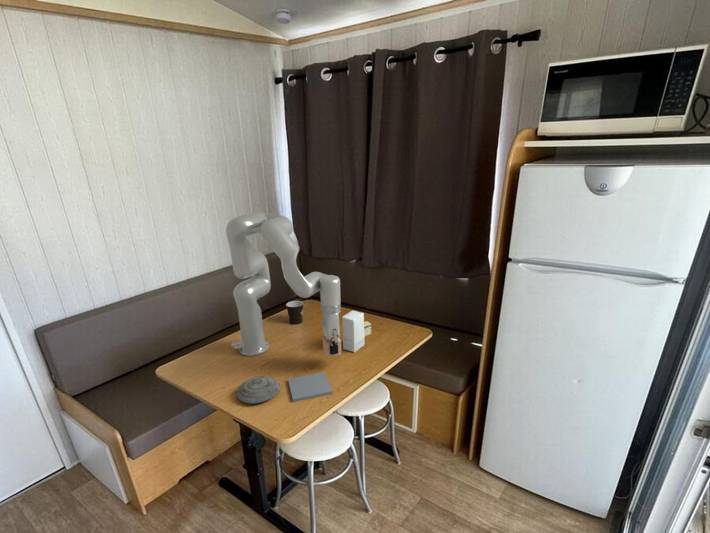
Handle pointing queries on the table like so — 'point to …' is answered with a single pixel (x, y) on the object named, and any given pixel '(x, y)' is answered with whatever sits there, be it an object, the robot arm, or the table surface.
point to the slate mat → (309, 386)
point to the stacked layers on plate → (367, 328)
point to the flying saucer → (258, 389)
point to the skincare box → (353, 331)
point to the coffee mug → (295, 312)
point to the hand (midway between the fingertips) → (332, 349)
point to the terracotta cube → (327, 346)
